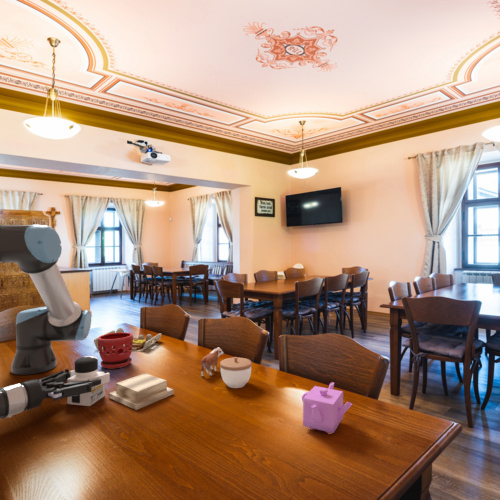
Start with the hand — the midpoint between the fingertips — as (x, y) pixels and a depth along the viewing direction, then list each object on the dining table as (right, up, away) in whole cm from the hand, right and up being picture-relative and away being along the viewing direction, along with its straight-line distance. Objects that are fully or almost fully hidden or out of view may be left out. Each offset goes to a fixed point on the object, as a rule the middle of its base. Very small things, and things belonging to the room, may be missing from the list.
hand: (99, 373), depth 115 cm
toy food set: (-10, -7, +57) cm, 58 cm away
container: (-3, -7, -3) cm, 8 cm away
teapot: (+68, -7, -20) cm, 71 cm away
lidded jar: (+43, -7, +9) cm, 44 cm away
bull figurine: (+33, -7, +21) cm, 40 cm away
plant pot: (-6, -7, +29) cm, 30 cm away
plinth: (+14, -7, 0) cm, 15 cm away
